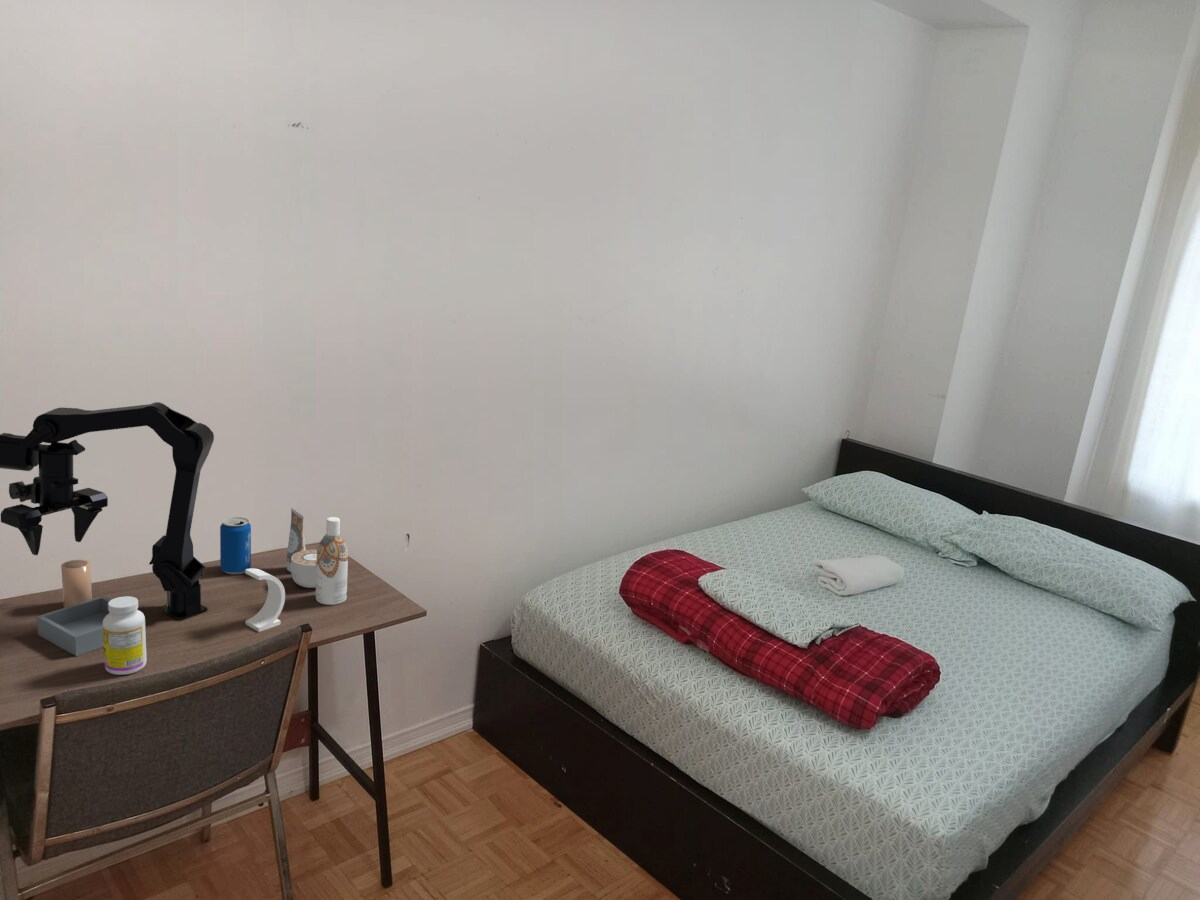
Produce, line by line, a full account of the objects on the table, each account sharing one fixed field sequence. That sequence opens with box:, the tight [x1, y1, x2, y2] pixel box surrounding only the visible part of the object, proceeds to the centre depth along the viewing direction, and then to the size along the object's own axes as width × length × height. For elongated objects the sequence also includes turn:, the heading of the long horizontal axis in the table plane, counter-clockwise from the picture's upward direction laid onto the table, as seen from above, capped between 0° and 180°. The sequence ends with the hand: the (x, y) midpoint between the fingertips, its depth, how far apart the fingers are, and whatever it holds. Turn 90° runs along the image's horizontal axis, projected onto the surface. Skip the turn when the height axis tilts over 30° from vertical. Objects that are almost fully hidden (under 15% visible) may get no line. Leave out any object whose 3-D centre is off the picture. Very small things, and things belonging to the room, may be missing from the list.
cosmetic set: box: [285, 507, 349, 606], centre depth 197 cm, size 25×9×19 cm, turn 42°
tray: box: [36, 595, 112, 657], centre depth 167 cm, size 13×13×4 cm
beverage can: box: [219, 516, 252, 576], centre depth 200 cm, size 6×6×12 cm
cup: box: [60, 559, 93, 608], centre depth 177 cm, size 5×5×9 cm
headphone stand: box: [244, 568, 286, 633], centre depth 177 cm, size 5×6×12 cm
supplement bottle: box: [103, 595, 148, 676], centre depth 156 cm, size 7×7×13 cm
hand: (57, 548), depth 174 cm, fingers open, 9 cm apart
